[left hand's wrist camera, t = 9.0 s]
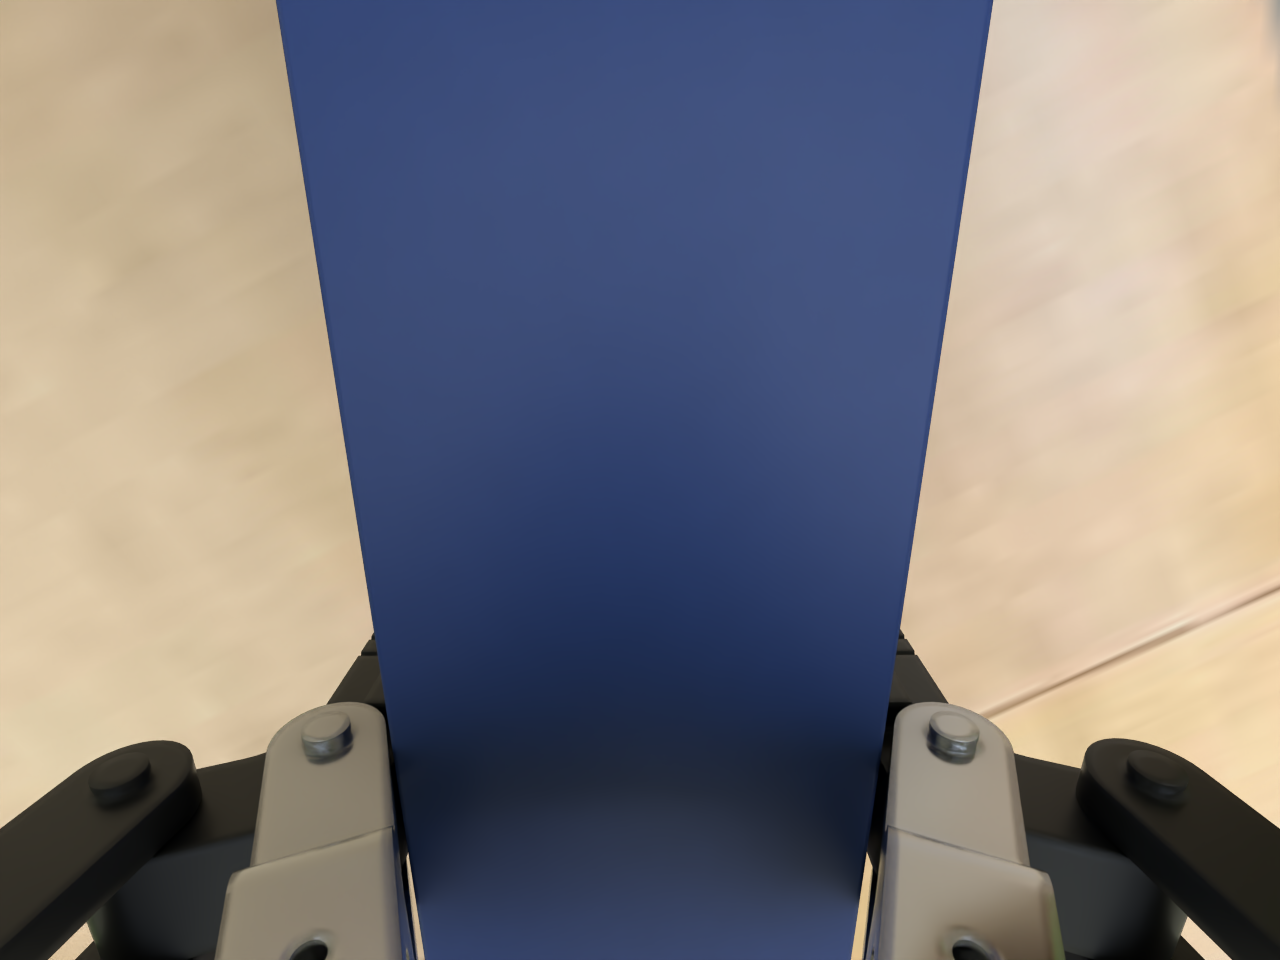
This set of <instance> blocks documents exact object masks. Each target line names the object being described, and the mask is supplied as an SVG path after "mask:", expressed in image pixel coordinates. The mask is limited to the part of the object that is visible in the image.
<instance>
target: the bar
mask: <svg viewBox="0 0 1280 960" xmlns="http://www.w3.org/2000/svg"><path fill="white" fill-rule="evenodd" d="M276 4H277V10H278V17H279V23H280V29H281V36H282V42H283V49H284V55H285V62H286V68H287V74H288V81H289V87H290V94H291V100H292V107H293V113H294V120H295V126H296V132H297V139H298V145H299V152H300V158H301V165H302V171H303V177H304V184H305V190H306V197H307V203H308V210H309V216H310V222H311V229H312V235H313V242H314V248H315V255H316V261H317V267H318V274H319V280H320V287H321V293H322V300H323V306H324V313H325V319H326V325H327V332H328V338H329V345H330V351H331V358H332V364H333V370H334V377H335V383H336V390H337V396H338V403H339V409H340V415H341V422H342V428H343V435H344V441H345V448H346V454H347V460H348V467H349V473H350V480H351V486H352V493H353V499H354V506H355V512H356V518H357V525H358V531H359V538H360V544H361V551H362V557H363V563H364V570H365V576H366V583H367V589H368V596H369V602H370V608H371V615H372V621H373V628H374V634H375V641H376V647H377V653H378V660H379V666H380V673H381V679H382V686H383V692H384V699H385V705H386V711H387V718H388V724H389V731H390V737H391V744H392V750H393V756H394V763H395V769H396V776H397V782H398V789H399V795H400V801H401V808H402V814H403V821H404V827H405V834H406V840H407V847H408V853H409V859H410V866H411V872H412V879H413V885H414V892H415V898H416V904H417V911H418V917H419V924H420V930H421V937H422V943H423V949H424V956H425V960H851V954H852V947H853V941H854V934H855V927H856V921H857V914H858V907H859V900H860V894H861V887H862V880H863V873H864V867H865V860H866V853H867V847H868V840H869V833H870V826H871V820H872V813H873V806H874V799H875V793H876V786H877V779H878V772H879V766H880V759H881V752H882V746H883V739H884V732H885V725H886V719H887V712H888V705H889V698H890V692H891V685H892V678H893V672H894V665H895V658H896V651H897V645H898V638H899V631H900V624H901V618H902V611H903V604H904V597H905V591H906V584H907V577H908V571H909V564H910V557H911V550H912V544H913V537H914V530H915V523H916V517H917V510H918V503H919V497H920V490H921V483H922V476H923V470H924V463H925V456H926V449H927V443H928V436H929V429H930V423H931V416H932V409H933V402H934V396H935V389H936V382H937V375H938V369H939V362H940V355H941V348H942V342H943V335H944V328H945V322H946V315H947V308H948V301H949V295H950V288H951V281H952V274H953V268H954V261H955V254H956V248H957V241H958V234H959V227H960V221H961V214H962V207H963V200H964V194H965V187H966V180H967V173H968V167H969V160H970V153H971V147H972V140H973V133H974V126H975V120H976V113H977V106H978V99H979V93H980V86H981V79H982V73H983V66H984V59H985V52H986V46H987V39H988V32H989V25H990V19H991V12H992V5H993V0H276Z"/></svg>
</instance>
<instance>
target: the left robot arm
mask: <svg viewBox="0 0 1280 960" xmlns="http://www.w3.org/2000/svg"><path fill="white" fill-rule="evenodd" d="M867 853H868V856H869V858H870V861H871V864H872V872H871V878H870V886H869V896H868V906H867V915H866V925H865V935H864V944H863V954H862V960H1205V959H1204V958H1203V957H1202V956H1201V955H1200V954H1199V953H1198V952H1197V951H1196V950H1195V949H1194V948H1193V947H1192V946H1191V945H1190V944H1189V943H1188V942H1187V941H1186V940H1185V939H1184V938H1183V937H1182V936H1181V932H1182V930H1183V927H1184V925H1185V922H1186V919H1187V917H1189V918H1190V919H1191V920H1192V921H1193V922H1194V923H1195V924H1196V925H1197V926H1198V927H1199V928H1200V929H1201V930H1202V931H1203V932H1204V933H1205V934H1206V935H1208V936H1209V937H1210V938H1211V939H1212V940H1213V941H1214V942H1215V943H1216V944H1217V945H1218V946H1219V947H1220V948H1221V949H1222V950H1223V951H1224V952H1225V953H1226V954H1227V955H1228V956H1229V957H1230V958H1231V959H1232V960H1280V829H1279V828H1278V827H1277V826H1275V825H1274V824H1273V823H1271V822H1270V821H1269V820H1267V819H1266V818H1265V817H1263V816H1262V815H1261V814H1259V813H1258V812H1257V811H1255V810H1254V809H1253V808H1252V807H1250V806H1249V805H1248V804H1246V803H1245V802H1244V801H1242V800H1241V799H1240V798H1238V797H1237V796H1236V795H1234V794H1233V793H1232V792H1230V791H1229V790H1228V789H1226V788H1225V787H1224V786H1223V785H1221V784H1220V783H1219V782H1217V781H1216V780H1215V779H1213V778H1212V777H1211V776H1209V775H1208V774H1207V773H1205V772H1204V771H1203V770H1201V769H1200V768H1198V767H1197V766H1195V765H1194V764H1193V763H1191V762H1189V761H1187V760H1186V759H1184V758H1182V757H1180V756H1178V755H1176V754H1174V753H1172V752H1170V751H1168V750H1165V749H1163V748H1160V747H1157V746H1154V745H1151V744H1148V743H1144V742H1140V741H1136V740H1130V739H1119V738H1112V739H1104V740H1100V741H1097V742H1095V743H1093V744H1091V745H1090V746H1089V747H1088V748H1087V751H1086V753H1085V756H1084V760H1083V763H1082V767H1081V769H1080V768H1075V767H1071V766H1066V765H1062V764H1057V763H1053V762H1048V761H1044V760H1039V759H1035V758H1030V757H1026V756H1022V755H1018V754H1015V753H1014V752H1013V748H1012V745H1011V743H1010V741H1009V739H1008V738H1007V737H1006V735H1005V734H1004V733H1003V732H1002V731H1001V730H1000V729H999V728H998V727H997V726H996V725H994V724H993V723H992V722H990V721H989V720H988V719H986V718H984V717H983V716H981V715H979V714H977V713H975V712H973V711H971V710H968V709H965V708H963V707H959V706H956V705H952V704H949V703H948V702H947V700H946V699H945V697H944V696H943V694H942V693H941V691H940V690H939V688H938V687H937V685H936V683H935V682H934V680H933V679H932V677H931V676H930V674H929V673H928V671H927V670H926V668H925V667H924V665H923V663H922V662H921V660H920V659H919V657H918V656H917V655H915V654H914V650H913V648H912V647H911V645H910V643H909V642H908V640H907V639H904V634H903V633H902V631H901V630H900V631H899V638H898V645H897V651H896V658H895V665H894V672H893V678H892V685H891V692H890V698H889V705H888V712H887V719H886V725H885V732H884V739H883V746H882V752H881V759H880V766H879V772H878V779H877V786H876V793H875V799H874V806H873V813H872V820H871V826H870V833H869V840H868V847H867ZM407 854H408V847H407V840H406V834H405V827H404V821H403V814H402V808H401V801H400V795H399V789H398V782H397V776H396V769H395V763H394V756H393V750H392V744H391V737H390V731H389V724H388V718H387V711H386V705H385V699H384V692H383V686H382V679H381V673H380V666H379V660H378V653H377V647H376V641H375V634H374V633H373V635H372V638H371V640H369V641H368V642H367V644H366V645H365V647H364V648H363V650H362V651H361V656H358V657H357V659H356V660H355V662H354V664H353V665H352V667H351V668H350V670H349V671H348V673H347V674H346V676H345V677H344V679H343V680H342V682H341V683H340V685H339V686H338V688H337V689H336V691H335V692H334V694H333V695H332V697H331V698H330V700H329V701H328V703H327V704H326V705H324V706H321V707H317V708H315V709H312V710H309V711H307V712H305V713H303V714H301V715H299V716H297V717H296V718H294V719H292V720H291V721H290V722H288V723H287V724H286V725H284V726H283V727H282V728H281V729H280V730H279V731H278V732H277V733H276V734H275V735H274V737H273V738H272V739H271V741H270V743H269V745H268V748H267V752H266V753H263V754H260V755H257V756H253V757H250V758H246V759H241V760H237V761H232V762H228V763H223V764H219V765H214V766H210V767H205V768H201V769H196V767H195V764H194V760H193V756H192V754H191V752H190V750H189V749H188V748H187V747H186V746H184V745H182V744H180V743H177V742H174V741H165V740H161V741H148V742H142V743H138V744H133V745H130V746H126V747H123V748H120V749H118V750H115V751H113V752H110V753H108V754H105V755H103V756H101V757H99V758H97V759H95V760H93V761H92V762H90V763H88V764H87V765H85V766H83V767H82V768H80V769H79V770H78V771H76V772H75V773H73V774H72V775H71V776H69V777H68V778H67V779H65V780H64V781H63V782H61V783H60V784H59V785H57V786H56V787H55V788H54V789H52V790H51V791H50V792H48V793H47V794H46V795H44V796H43V797H42V798H40V799H39V800H38V801H36V802H35V803H34V804H32V805H31V806H30V807H28V808H27V809H26V810H24V811H23V812H22V813H21V814H19V815H18V816H17V817H15V818H14V819H13V820H11V821H10V822H9V823H7V824H6V825H5V826H3V827H2V828H1V829H0V960H48V959H49V958H50V957H51V956H52V955H53V954H54V953H55V952H56V951H57V950H58V949H59V948H60V947H61V946H62V945H63V944H64V943H65V942H66V941H67V940H68V939H69V938H70V937H71V936H72V935H73V934H74V933H76V932H77V931H78V930H79V929H80V928H81V927H82V926H83V925H84V924H85V923H86V922H87V924H88V927H89V930H90V932H91V935H92V937H93V940H94V941H93V942H92V943H91V944H90V945H89V946H88V947H87V948H86V949H85V950H84V951H83V952H82V953H81V954H80V955H79V956H78V957H77V958H76V959H75V960H418V954H417V944H416V935H415V925H414V915H413V906H412V896H411V887H410V878H409V872H408V865H407V859H406V857H407Z"/></svg>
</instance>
